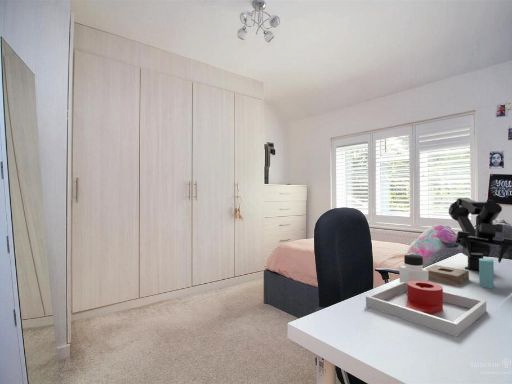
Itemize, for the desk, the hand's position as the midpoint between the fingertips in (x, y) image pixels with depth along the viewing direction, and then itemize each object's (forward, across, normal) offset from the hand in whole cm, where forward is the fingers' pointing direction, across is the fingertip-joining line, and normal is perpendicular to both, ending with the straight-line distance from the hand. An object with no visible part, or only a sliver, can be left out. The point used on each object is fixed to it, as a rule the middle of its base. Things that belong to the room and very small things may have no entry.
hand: (484, 259), depth 112 cm
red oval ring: (+37, -20, -26) cm, 50 cm away
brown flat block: (+11, -12, +2) cm, 16 cm away
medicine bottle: (+23, -23, -9) cm, 33 cm away
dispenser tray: (+36, -19, -25) cm, 48 cm away
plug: (+12, 0, 0) cm, 12 cm away
